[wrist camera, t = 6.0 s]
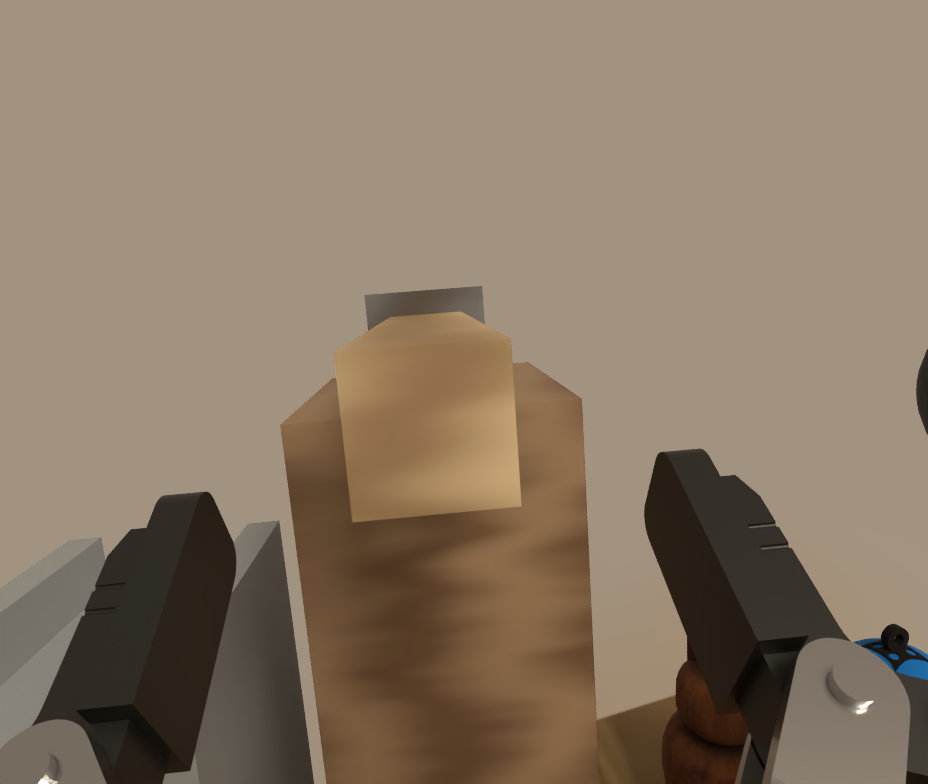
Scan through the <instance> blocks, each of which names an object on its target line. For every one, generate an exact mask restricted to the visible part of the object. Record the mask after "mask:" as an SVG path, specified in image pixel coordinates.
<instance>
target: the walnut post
mask: <svg viewBox="0 0 928 784" xmlns="http://www.w3.org/2000/svg"><path fill="white" fill-rule="evenodd" d="M513 380H514V395H515V411H516V427H517V443H518V458H519V474H520V490H521V505H522V506H521V507H510V508H500V509H489V510H479V511H468V512H458V513H447V514H436V515H426V516H415V517H405V518H394V519H383V520H373V521H362V522H352V514H351V505H350V496H349V487H348V479H347V470H346V461H345V452H344V443H343V434H342V425H341V416H340V407H339V398H338V389H337V380H336V378H335V379H331V380H330V381H329V382H328V383H327V384H326V385H325V386H324V387H322V388H321V389H320V390H319V391H318V392H317V393H316V394H315V395H313V396H312V397H311V398H310V399H309V400H308V401H307V402H306V403H304V404H303V405H302V406H301V407H300V408H299V409H298V410H297V411H295V412H294V413H293V414H292V415H291V416H290V417H289V418H288V419H286V420H285V421H284V422H283V423H282V424H281V434H282V441H283V449H284V457H285V464H286V472H287V480H288V488H289V496H290V503H291V511H292V519H293V527H294V534H295V542H296V550H297V557H298V565H299V573H300V581H301V588H302V595H303V596H302V597H303V604H304V612H305V619H306V628H307V635H308V642H309V651H310V659H311V666H312V674H313V682H314V689H315V697H316V705H317V712H318V721H319V727H320V736H321V744H322V751H323V759H324V767H325V774H326V781H327V782H326V783H327V784H599V766H598V744H597V722H596V701H595V678H594V656H593V635H592V614H591V590H590V569H589V546H588V524H587V504H586V480H585V460H584V459H585V458H584V436H583V414H582V399H581V398H580V397H578V396H577V395H576V394H574V393H573V392H571V391H570V390H568V389H567V388H565V387H564V386H562V385H561V384H559V383H558V382H556V381H555V380H553V379H552V378H550V377H549V376H548V375H546V374H545V373H543V372H542V371H540V370H539V369H537V368H536V367H534V366H533V365H531V364H530V363H528V362H527V363H515V364H513Z"/></svg>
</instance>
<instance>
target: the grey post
mask: <svg viewBox="0 0 928 784" xmlns="http://www.w3.org/2000/svg"><path fill="white" fill-rule="evenodd" d="M233 543H234V546H235V551H236V576H235V581H234V585H233V589H232V594H231V598H230V602H229V607H228V611H227V615H226V620H225V624H224V628H223V633H222V637H221V641H220V646H219V650H218V654H217V658H216V663H215V667H214V671H213V676H212V680H211V684H210V689H209V693H208V697H207V702H206V706H205V710H204V715H203V719H202V723H201V727H200V732H199V736H198V740H197V745H196V749H195V753H194V758H193V762H192V766H191V771H187V772H178V773H169V774H165V776H164V780H163V784H314V781H313V772H312V765H311V757H310V750H309V742H308V735H307V728H306V720H305V712H304V705H303V698H302V690H301V682H300V675H299V668H298V660H297V652H296V645H295V638H294V630H293V622H292V615H291V607H290V600H289V592H288V585H287V577H286V569H285V562H284V554H283V547H282V539H281V532H280V524H279V521H272V522H261V523H252V524H247V526H246V527H245V528H244V529H243V531H242V532H241V533H240V535H239V536H238V537H237V538H236V540H235V541H234V542H233ZM104 563H105V556H104V551H103V546H102V540H101V538H91V539H80V540H71V541H70V540H69V541H68V542H66V543H65V544H63V545H62V546H60V547H59V548H58V549H56V550H55V551H53V552H52V553H50V554H49V555H47V556H46V557H45V558H43V559H42V560H40V561H39V562H37V563H36V564H34V565H33V566H31V567H30V568H29V569H27V570H26V571H25V572H23V573H22V574H20V575H19V576H17V577H15V578H14V579H13V580H11V581H10V582H8V583H7V584H5V585H4V586H2V587H1V588H0V748H1V747H2V746H3V745H5V744H6V743H7V742H8V741H9V740H10V739H12V738H13V737H15V736H16V735H17V734H19V733H20V732H22V731H24V730H26V729H27V728H29V727H31V726H32V724H33V723H34V721H35V720H36V718H37V717H38V715H39V713H40V711H41V709H42V707H43V704H44V702H45V700H46V697H47V695H48V693H49V690H50V688H51V686H52V684H53V681H54V679H55V677H56V674H57V672H58V670H59V667H60V665H61V663H62V660H63V658H64V656H65V653H66V651H67V649H68V646H69V644H70V642H71V640H72V637H73V635H74V633H75V630H76V628H77V626H78V623H79V621H80V619H81V616H84V615H85V610H84V609H85V607H86V605H87V603H88V600H89V598H90V596H91V593H92V591H95V584H96V582H97V579H98V577H99V575H100V572H101V570H102V568H103V565H104Z"/></svg>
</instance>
